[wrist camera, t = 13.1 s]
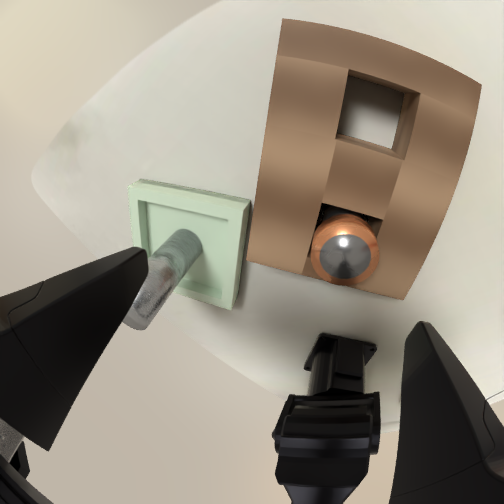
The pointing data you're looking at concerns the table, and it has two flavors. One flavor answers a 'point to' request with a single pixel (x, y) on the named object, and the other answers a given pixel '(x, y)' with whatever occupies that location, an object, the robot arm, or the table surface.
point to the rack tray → (203, 225)
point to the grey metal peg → (163, 276)
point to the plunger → (344, 247)
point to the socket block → (358, 152)
